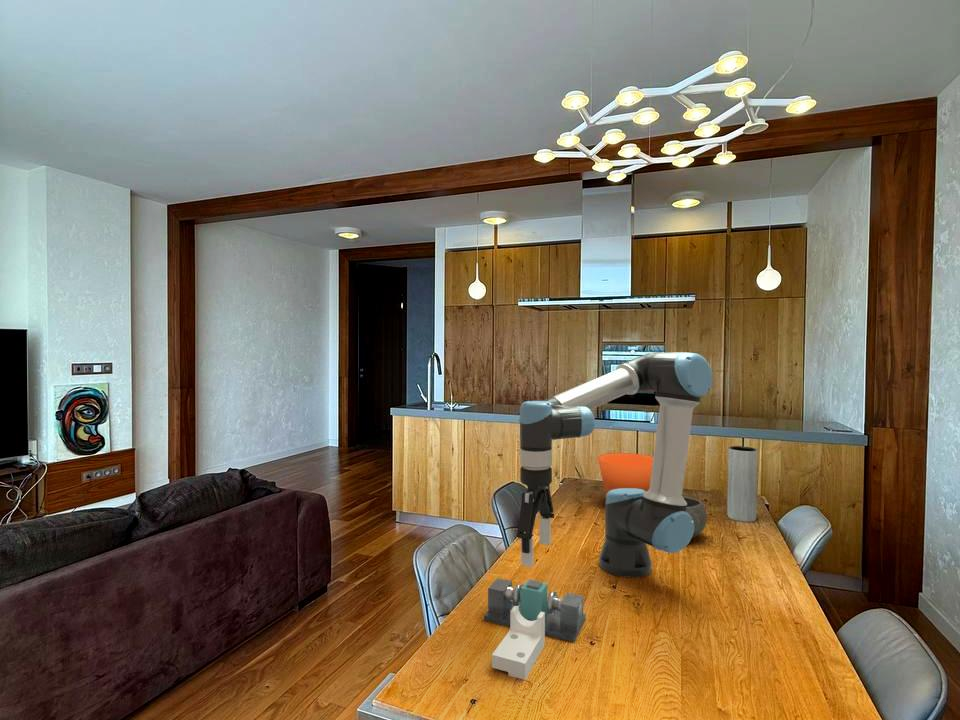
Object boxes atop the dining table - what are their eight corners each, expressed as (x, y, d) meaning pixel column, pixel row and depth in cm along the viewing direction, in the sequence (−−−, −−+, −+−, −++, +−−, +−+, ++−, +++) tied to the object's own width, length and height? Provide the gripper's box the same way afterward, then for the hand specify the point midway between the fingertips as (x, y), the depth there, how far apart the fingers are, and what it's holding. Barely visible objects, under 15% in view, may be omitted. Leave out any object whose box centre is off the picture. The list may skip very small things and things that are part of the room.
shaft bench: (585, 618, 123) (586, 588, 123) (574, 642, 113) (575, 609, 113) (500, 599, 133) (501, 571, 132) (483, 620, 123) (483, 589, 122)
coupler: (547, 612, 124) (547, 581, 124) (541, 622, 120) (541, 589, 119) (527, 607, 126) (528, 577, 126) (520, 617, 122) (521, 585, 121)
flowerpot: (669, 516, 199) (670, 466, 199) (604, 516, 200) (605, 465, 199) (649, 498, 224) (649, 453, 224) (591, 497, 225) (592, 452, 224)
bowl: (649, 541, 174) (650, 504, 173) (653, 524, 190) (653, 490, 190) (707, 549, 167) (707, 510, 167) (705, 531, 184) (706, 496, 183)
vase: (757, 516, 200) (758, 447, 199) (755, 524, 191) (756, 452, 191) (728, 512, 205) (730, 445, 205) (725, 519, 197) (726, 449, 196)
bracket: (514, 638, 115) (514, 605, 115) (544, 646, 112) (544, 612, 112) (491, 672, 103) (492, 635, 103) (525, 681, 101) (525, 643, 100)
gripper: (537, 454, 135) (537, 534, 136) (501, 477, 112) (502, 572, 113) (565, 456, 132) (565, 538, 133) (534, 480, 109) (535, 579, 110)
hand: (536, 554), depth 123 cm, fingers open, 13 cm apart
